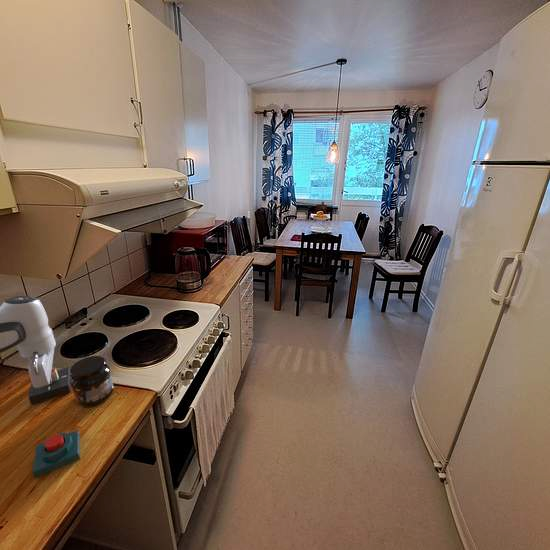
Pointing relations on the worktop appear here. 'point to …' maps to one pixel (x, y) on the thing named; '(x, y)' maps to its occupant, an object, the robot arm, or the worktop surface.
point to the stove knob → (54, 375)
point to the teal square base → (57, 454)
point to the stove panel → (51, 388)
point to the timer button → (54, 443)
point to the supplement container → (91, 381)
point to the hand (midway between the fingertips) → (49, 379)
